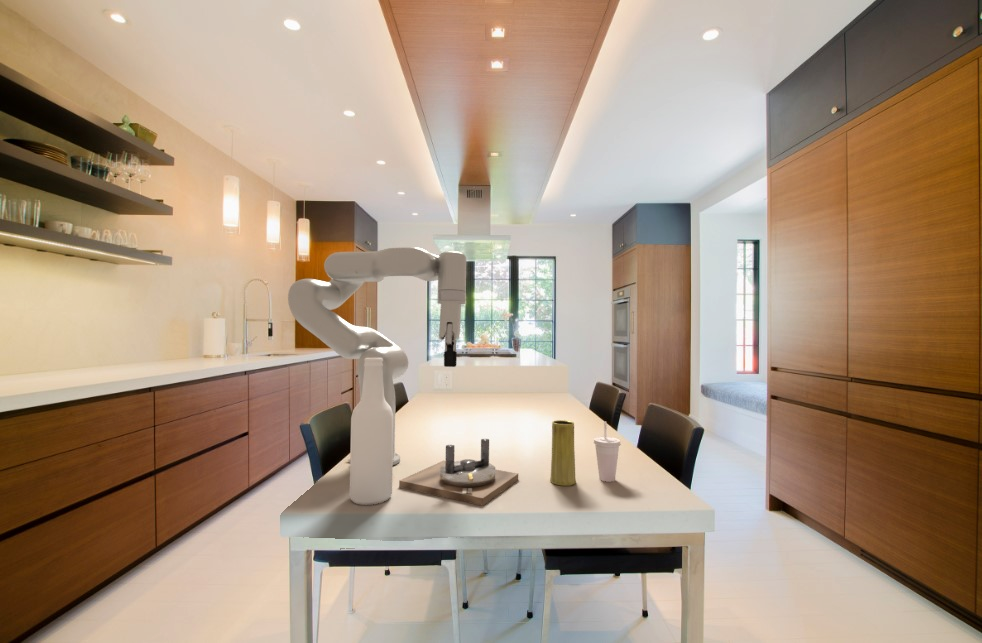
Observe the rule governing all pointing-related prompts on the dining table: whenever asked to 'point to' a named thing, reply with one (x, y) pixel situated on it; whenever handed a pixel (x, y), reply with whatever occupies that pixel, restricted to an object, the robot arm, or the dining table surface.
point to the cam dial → (468, 469)
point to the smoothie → (607, 456)
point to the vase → (563, 453)
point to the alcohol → (371, 440)
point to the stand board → (477, 495)
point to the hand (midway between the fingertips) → (450, 366)
